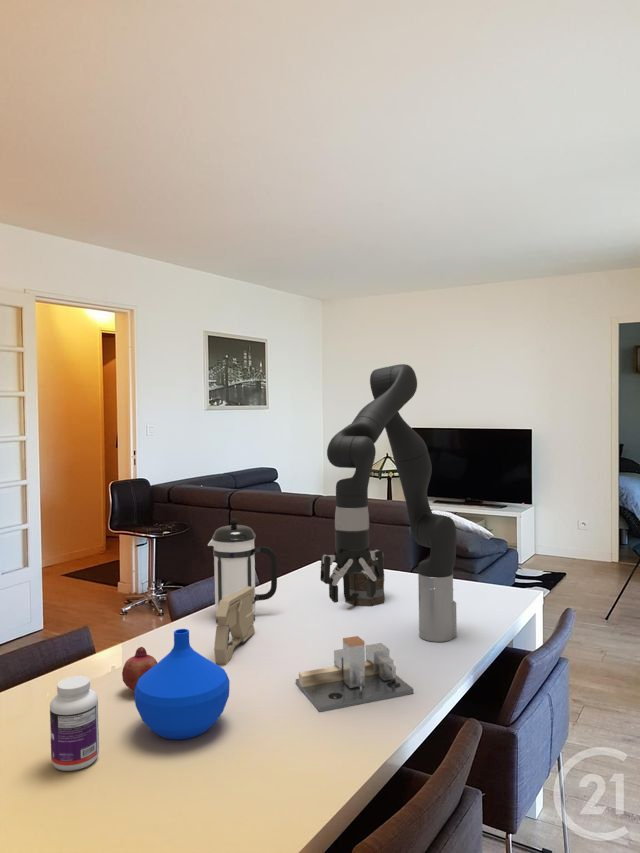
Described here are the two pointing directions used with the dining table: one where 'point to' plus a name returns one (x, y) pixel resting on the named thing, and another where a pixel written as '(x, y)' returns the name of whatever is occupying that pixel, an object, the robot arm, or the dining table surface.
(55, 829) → the dining table surface
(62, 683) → the pill bottle
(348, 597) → the mug
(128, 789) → the dining table surface
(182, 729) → the vase
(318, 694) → the bolt plate
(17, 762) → the dining table surface
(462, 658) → the dining table surface
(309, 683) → the divider rail
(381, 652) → the fixed leg
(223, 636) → the gun
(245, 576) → the coffee press
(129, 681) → the fruit
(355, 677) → the slide leg
